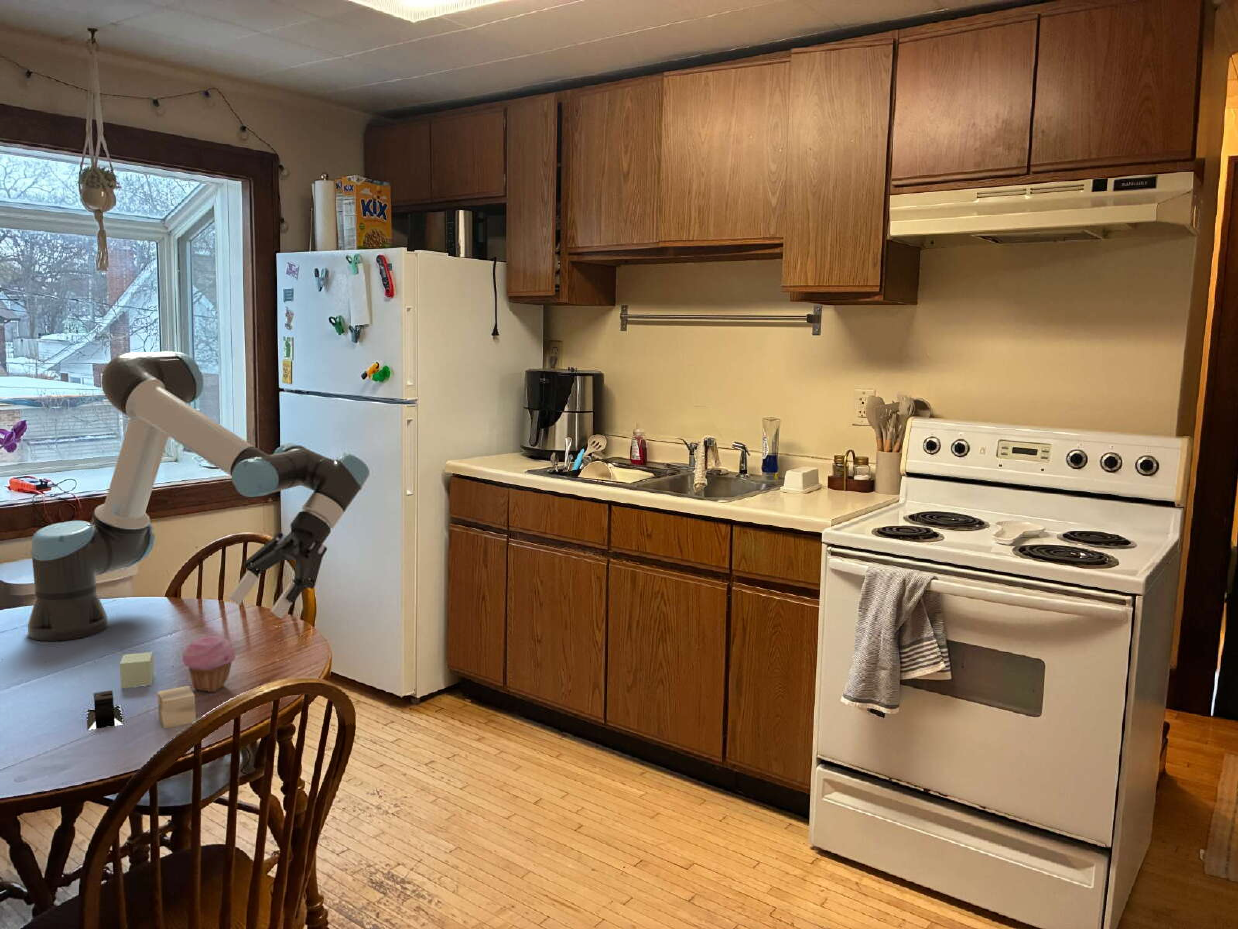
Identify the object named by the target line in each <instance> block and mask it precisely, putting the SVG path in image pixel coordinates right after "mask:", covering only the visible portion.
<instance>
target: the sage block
mask: <svg viewBox="0 0 1238 929" xmlns="http://www.w3.org/2000/svg"><path fill="white" fill-rule="evenodd" d="M119 662H120V663H119V672H120V675H119V676H120V685H121V686H120V687H121V688H123V689H129V688H128V687H133V688H136V687H135V686H141V685H142V686H143V685H151V686H152V684H151V683H153V681H152V680H154V678H155V672H154V671H155V669H154V652H153V651H151V652H139V653H136V652H135V653H128V654H127V653H126V654H123V656H122V658H121V660H120V661H119ZM153 677H154V678H153ZM121 688H120V689H121Z"/></svg>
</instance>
